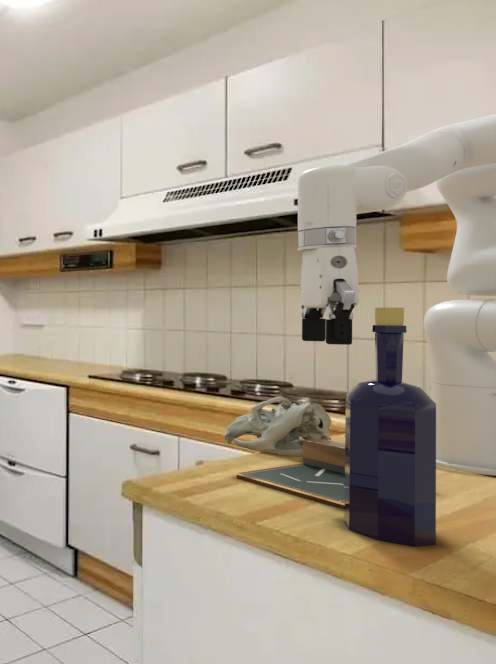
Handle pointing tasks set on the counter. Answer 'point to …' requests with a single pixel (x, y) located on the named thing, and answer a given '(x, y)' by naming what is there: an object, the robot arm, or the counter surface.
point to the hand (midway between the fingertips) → (325, 342)
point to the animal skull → (280, 427)
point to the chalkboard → (303, 482)
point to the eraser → (324, 454)
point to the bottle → (390, 447)
